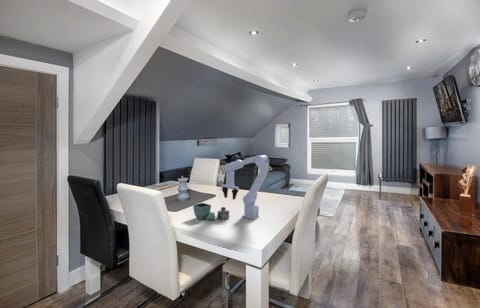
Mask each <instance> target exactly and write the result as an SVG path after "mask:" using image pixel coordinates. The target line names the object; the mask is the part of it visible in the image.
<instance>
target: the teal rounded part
mask: <svg viewBox="0 0 480 308" xmlns="http://www.w3.org/2000/svg"><path fill="white" fill-rule="evenodd" d="M215 213H216V212H213V211H210V212H209V213H208V217H207V221H208V222H213V221H215V219H216V215H215Z"/></svg>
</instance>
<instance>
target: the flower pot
mask: <svg viewBox="0 0 480 308" xmlns="http://www.w3.org/2000/svg"><path fill="white" fill-rule="evenodd" d="M192 208H193V213H194V216H195V217H196V219H197V220H198V219H199V220H205V219H208V213H209V212H211V208H212V205H211V204H209V203H206V202H200V203H196V204H193V205H192Z"/></svg>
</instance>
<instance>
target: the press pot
mask: <svg viewBox="0 0 480 308" xmlns="http://www.w3.org/2000/svg"><path fill="white" fill-rule="evenodd" d="M216 217H217V220H220V221H227V220H229V219H230V210H224V212H223V210H221V209H220V210H218V211H217V216H216Z"/></svg>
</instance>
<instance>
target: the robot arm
mask: <svg viewBox="0 0 480 308" xmlns="http://www.w3.org/2000/svg"><path fill="white" fill-rule="evenodd" d="M269 163H270V159H269V157H268V156H267V155H266V154H263V155H262V154H261V155H255V156H250V157H249V158H246V159H243V160H241V159H236V160H235V161H231V162H230V163H226V164H225V165H224V170H225V171H226V172H225V177H226V178H225V179H226V180H225V182H226V183H225V184H221V191H222V192H223V193H222V194H223V196H224V198H225V199H226V198H228V192H229V190H230V189H231V192H232V193H231V194H232V200H236V199H237V194H238V192H239V191H240V188H239V186H236V185H235V171H236V170H238V169H242V168H244V166H245V165H248V164H255V166H257V168H258V170H259V171H258V174H257V176H256V177H255V179H254V181H253V183H252V185H251V187H250V189H249V190H248V192H246V194H245V195H243V197H242V202H243V204H244V212H243V213H244V214H243V215H241V217H243V218H246V219H251V220H254V219H256V218H258V217H260V215H259V214H260V213H259V209H260V208H259V206H258V205H257V204H256V201H257V199H258V198H257V196H258V192H259V190H260V188H261V186H262V184H263V182H264V181H265V179H266V177H267V176H268V175H267V174H268V172H269V171H270V170H269Z"/></svg>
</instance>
